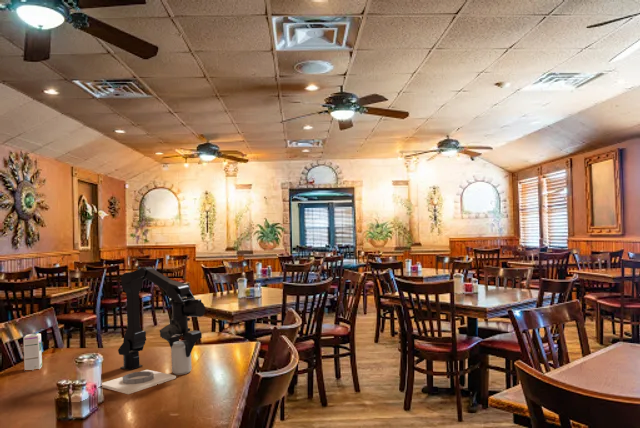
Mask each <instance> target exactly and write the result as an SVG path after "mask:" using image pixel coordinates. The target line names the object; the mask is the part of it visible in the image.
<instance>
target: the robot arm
mask: <svg viewBox="0 0 640 428" xmlns="http://www.w3.org/2000/svg"><path fill="white" fill-rule="evenodd" d="M145 280H148V281H149V282H151V283H152V284H154V285H156V286H158V287H160V288H161V289H162V290H164V292H165V295H167V296H168V297H169V298H170V299H171V300H170V301H169V302H168V303H167V305H168V306H171V310H172V312H171V313H172V318H171V319H170V320H169V324H168V325H165V326H164V327H163V328H161V329H159V335H160V338H161V339H163V340H165V341H166V342H168V345H169V346H170V348H171V347H172V346H173V343H174V342H177V341H180V338H183V340H181V341H182V342H183V343H184V344H185V350H186V357H189V356H190V354H191V355H192V351H193V349H194V346H195V345H196V343H197V341H198V340H199V339H202V338H203V335H202V334H203V333H202V332H201V330H196V329H195V330H191V327H189V324H188V322H189V321H191V318H190V317H193V318H194V317H195V318H201V317H203V316H204V314H205V313H206V306H205V304H204V303H203V302H202V298H198V299H196V298H195V296H194V295H193V293H192V291H191V290H190V287H189V285H188V283H187V284H186V283H184V282H181V281H176V280H173V279H171V278H170V277H168V276H166V275H164V274H162V273H161V272H159V271H158V270H156V269H154V267H152V266H143V267H141V268H139V269H136V270H133V271H128V272H124V273H123V274H122V275H121V278H120V282H121V287H122V290H123V291H124V293H125V294H126V321H127V322H126V323H127V324H126V325H127V329H126V331H125V333H124V335H123V341H122V344H121V345H120V346H119V347H118V349H117V352H118V355H121V356H123V358H122V359H123V365H122V366H120V367H119V368H120V369H122V370H126V371H131V370H133V369H137V368H141V367H142V368H143V365H144V364H140V352H142V351H144V345H146V342H147V332H146V330H143V329H142V327H141V315H140V314H141V312H140V311H141V310H140V309H141V308H140V306H141V305H140V291H141V290H142V287H143V285H144V281H145Z"/></svg>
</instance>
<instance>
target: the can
mask: <svg viewBox="0 0 640 428" xmlns="http://www.w3.org/2000/svg"><path fill="white" fill-rule="evenodd" d="M182 341H183V340H179V341H177V342H174V343H173V346H172V347H170V351H171V352H170V353H171V372H172V373H173V375H176V376H179V375H180V376H181V375H182V376H183V375H186V374H187V375H188V374H190V372H191V370H192V353H191V354H190V356H189V357H186V350H185V344H184V343H183V342H182Z"/></svg>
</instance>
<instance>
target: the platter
mask: <svg viewBox="0 0 640 428" xmlns="http://www.w3.org/2000/svg"><path fill="white" fill-rule="evenodd" d="M174 379H177V375H175V374H170V373H166V372H160V371H156V370H150V369H145V370H141V371H135V372H131V373H127V374H125V375H123V376H121V377H117V378H114V379H111V380H107V381H104V382H101V383H102V385H103V387H102V388H103V389H107V390H110V391H111V390H112V391H115V392H119V393H122V394H126V395H130V394H133V393H136V392H139V391H142V390H145V389H148V388H151V387H155V386H157V384H158V385H161V384H164V383H165V382H169V381H173V380H174Z"/></svg>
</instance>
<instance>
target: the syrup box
mask: <svg viewBox="0 0 640 428" xmlns="http://www.w3.org/2000/svg"><path fill="white" fill-rule="evenodd" d="M42 351H43V349H42V334H41V333H38V332H37V333H30V334H26V335H25V336H23V361H24V363H23V365H24V371H25V370H32V371H35V370H34V369H39V370H41V368H42V367H43V357H42V356H43V352H42Z"/></svg>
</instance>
